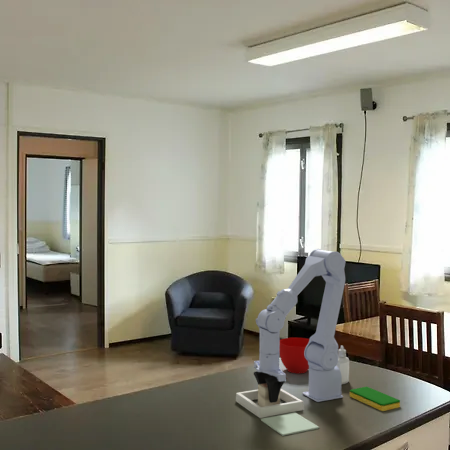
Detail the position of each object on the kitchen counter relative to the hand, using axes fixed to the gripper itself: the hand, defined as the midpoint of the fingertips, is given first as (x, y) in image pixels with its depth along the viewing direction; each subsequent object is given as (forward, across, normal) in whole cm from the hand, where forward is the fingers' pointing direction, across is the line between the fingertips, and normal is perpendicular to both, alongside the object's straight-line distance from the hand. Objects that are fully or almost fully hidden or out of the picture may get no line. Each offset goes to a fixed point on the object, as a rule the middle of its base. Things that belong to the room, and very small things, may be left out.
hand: (268, 399), depth 163 cm
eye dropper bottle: (+2, -8, +32) cm, 33 cm away
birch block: (+2, 0, 0) cm, 2 cm away
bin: (+2, 0, 0) cm, 2 cm away
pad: (+2, +14, -2) cm, 14 cm away
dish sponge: (+3, +10, +30) cm, 32 cm away
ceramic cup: (+2, -23, +27) cm, 36 cm away
